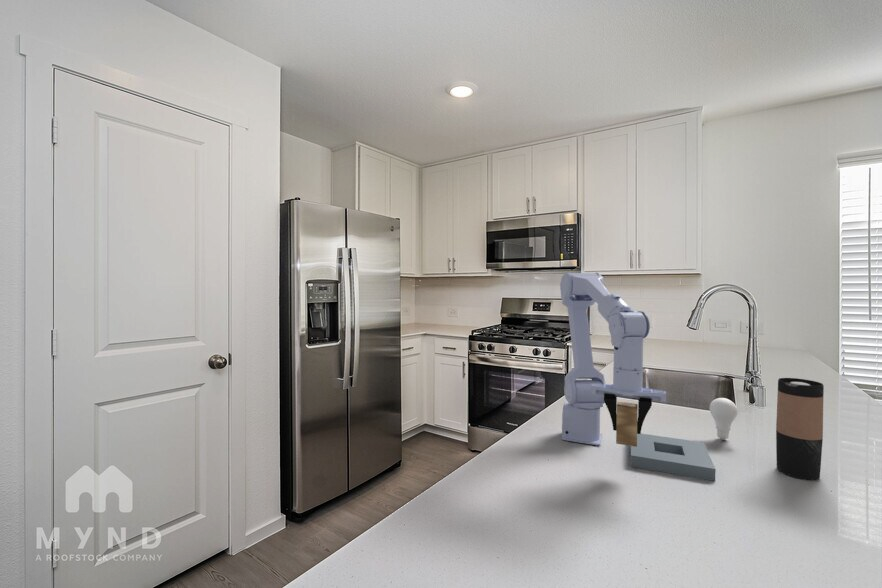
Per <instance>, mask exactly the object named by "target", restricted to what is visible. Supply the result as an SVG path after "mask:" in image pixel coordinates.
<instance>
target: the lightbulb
mask: <svg viewBox="0 0 882 588" xmlns="http://www.w3.org/2000/svg"><path fill="white" fill-rule="evenodd" d="M738 412H739V411H738V407H737V405H736V404H735V402H733V401H732V400H730V399H728V398H726V397H718V398H715V399H713V400H712V401H710V404H709V413H710V415H711V416H712V418H713V420H714V424H715V428H716V436H717V437H718V438H719V439H720V440H722V441H726V440H727V439H729V435H730V431H731V426H732V424H733V422H734V421H735V420H736V417H737V416H738Z"/></svg>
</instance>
